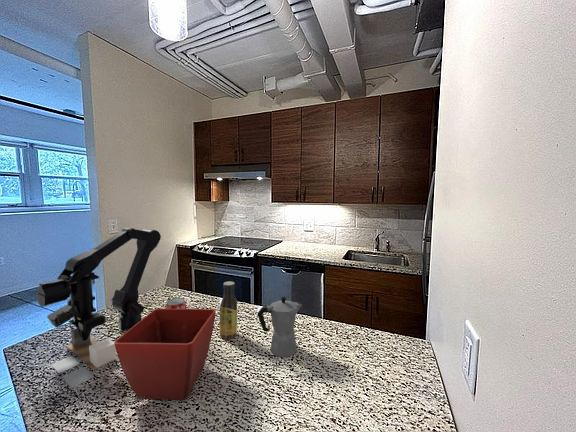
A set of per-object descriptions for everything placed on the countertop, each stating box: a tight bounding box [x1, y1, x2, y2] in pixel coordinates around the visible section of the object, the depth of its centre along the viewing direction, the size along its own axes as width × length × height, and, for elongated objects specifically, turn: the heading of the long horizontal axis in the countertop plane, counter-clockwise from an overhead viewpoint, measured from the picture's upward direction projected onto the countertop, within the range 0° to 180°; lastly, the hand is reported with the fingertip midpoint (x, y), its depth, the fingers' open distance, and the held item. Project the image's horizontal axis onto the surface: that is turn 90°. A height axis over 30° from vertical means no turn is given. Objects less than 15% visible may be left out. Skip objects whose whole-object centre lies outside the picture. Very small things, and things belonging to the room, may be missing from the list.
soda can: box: [164, 297, 188, 309], centre depth 95 cm, size 7×7×13 cm
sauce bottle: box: [219, 280, 238, 340], centre depth 94 cm, size 6×6×20 cm
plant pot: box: [113, 308, 216, 401], centre depth 71 cm, size 19×19×17 cm
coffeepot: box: [257, 296, 303, 358], centre depth 85 cm, size 15×9×18 cm, turn 110°
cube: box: [89, 338, 117, 369], centre depth 79 cm, size 5×5×5 cm
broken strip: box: [50, 355, 95, 389], centre depth 74 cm, size 17×5×1 cm, turn 56°
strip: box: [65, 328, 119, 371], centre depth 83 cm, size 22×7×6 cm, turn 56°
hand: (84, 340), depth 86 cm, fingers closed
